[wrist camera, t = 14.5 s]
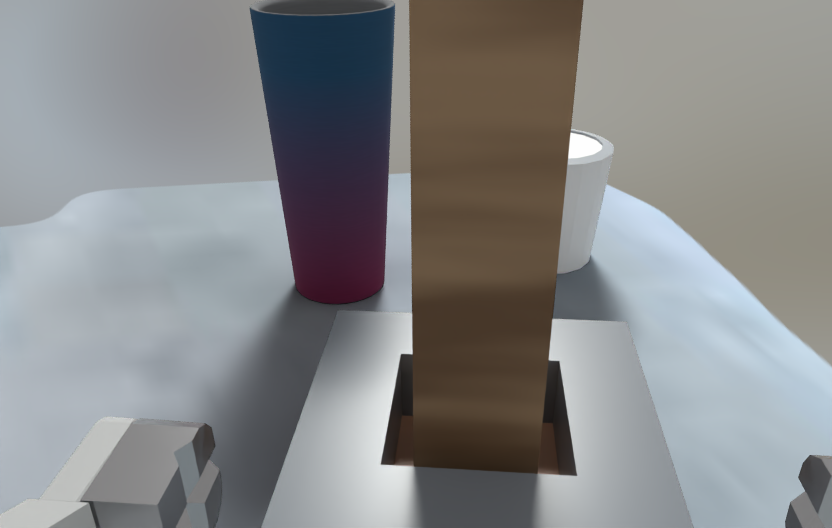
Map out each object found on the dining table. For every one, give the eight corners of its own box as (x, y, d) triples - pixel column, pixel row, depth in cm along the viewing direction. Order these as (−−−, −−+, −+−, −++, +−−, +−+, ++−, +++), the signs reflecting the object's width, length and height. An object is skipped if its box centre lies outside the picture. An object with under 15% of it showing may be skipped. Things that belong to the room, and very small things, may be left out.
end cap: (680, 661, 21) (705, 565, 19) (272, 629, 22) (258, 535, 20) (615, 399, 31) (627, 321, 29) (342, 386, 32) (337, 309, 30)
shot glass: (470, 237, 46) (473, 131, 43) (565, 223, 48) (575, 120, 45) (516, 287, 40) (524, 169, 37) (623, 268, 42) (639, 154, 39)
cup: (401, 311, 38) (395, 14, 31) (271, 314, 38) (237, 16, 31) (399, 253, 44) (394, -7, 37) (287, 255, 44) (261, -5, 37)
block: (532, 520, 24) (590, -72, 16) (413, 512, 24) (408, -72, 16) (527, 440, 28) (572, -80, 19) (423, 433, 28) (423, -79, 20)
